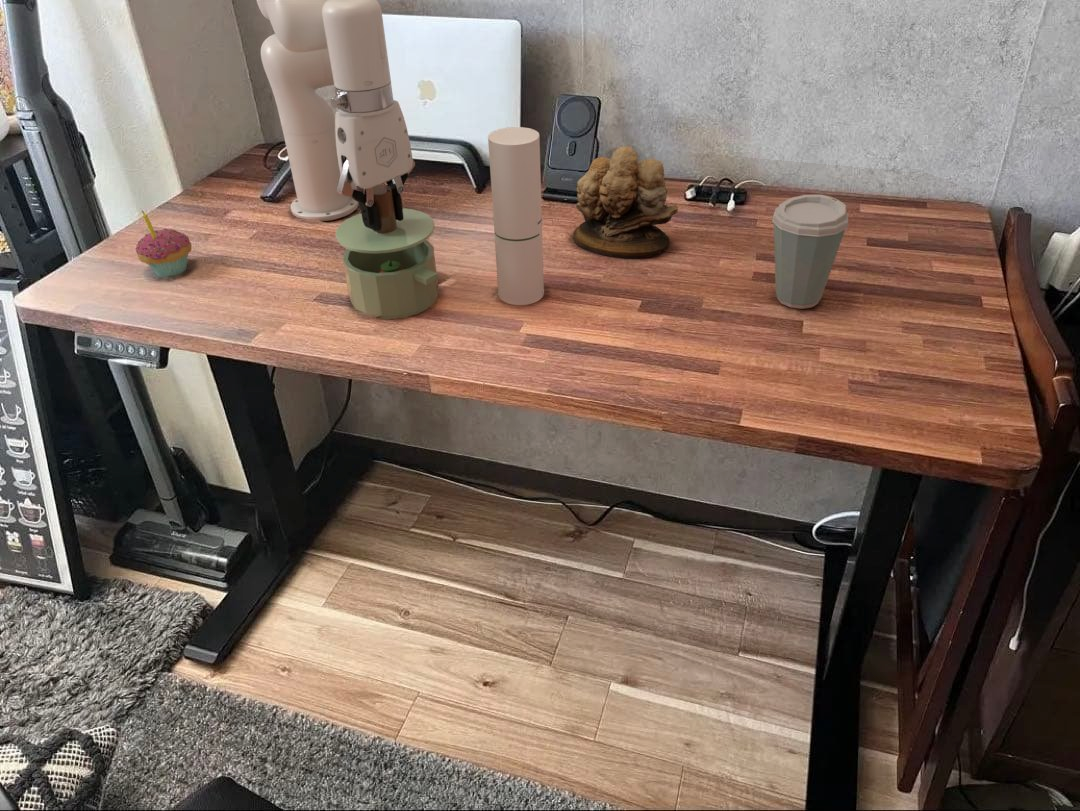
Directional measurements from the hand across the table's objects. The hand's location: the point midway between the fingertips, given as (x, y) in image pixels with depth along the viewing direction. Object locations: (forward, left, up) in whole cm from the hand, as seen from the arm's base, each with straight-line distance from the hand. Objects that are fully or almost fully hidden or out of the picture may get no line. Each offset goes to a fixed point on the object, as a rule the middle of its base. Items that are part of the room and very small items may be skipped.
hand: (384, 222), depth 125 cm
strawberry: (0, 0, -12) cm, 12 cm away
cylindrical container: (-13, +15, -13) cm, 24 cm away
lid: (0, 0, -1) cm, 1 cm away
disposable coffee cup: (-38, +49, -13) cm, 63 cm away
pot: (0, 0, -13) cm, 13 cm away
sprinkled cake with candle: (+18, -36, -13) cm, 42 cm away
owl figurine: (-37, +17, -13) cm, 43 cm away
